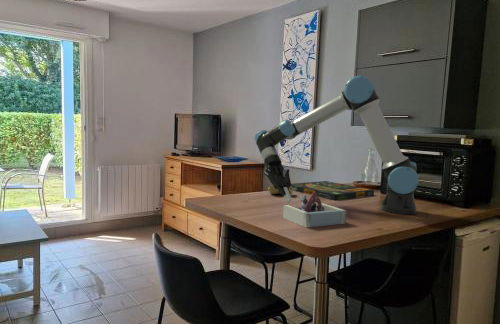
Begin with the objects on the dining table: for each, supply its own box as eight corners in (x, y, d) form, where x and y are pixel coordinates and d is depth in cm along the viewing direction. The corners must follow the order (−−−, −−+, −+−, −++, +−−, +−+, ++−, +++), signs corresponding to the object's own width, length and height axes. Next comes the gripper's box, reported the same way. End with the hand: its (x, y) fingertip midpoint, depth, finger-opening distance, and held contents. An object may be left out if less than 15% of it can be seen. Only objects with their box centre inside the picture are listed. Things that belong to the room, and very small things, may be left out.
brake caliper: (319, 218, 141) (305, 190, 145) (299, 230, 148) (286, 203, 152) (335, 214, 150) (321, 187, 154) (315, 225, 156) (302, 200, 160)
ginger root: (288, 196, 189) (286, 180, 190) (261, 199, 198) (259, 184, 199) (301, 193, 203) (299, 178, 203) (276, 196, 211) (274, 182, 212)
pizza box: (325, 186, 241) (326, 181, 241) (373, 196, 214) (374, 190, 214) (286, 190, 219) (286, 184, 219) (333, 201, 192) (334, 194, 192)
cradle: (283, 217, 150) (283, 205, 149) (320, 214, 159) (321, 202, 158) (305, 227, 136) (306, 213, 136) (345, 223, 145) (346, 210, 145)
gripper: (279, 163, 181) (297, 205, 168) (256, 163, 175) (272, 206, 162) (286, 153, 176) (305, 195, 163) (262, 153, 170) (280, 197, 157)
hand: (289, 201), depth 162 cm, fingers closed
